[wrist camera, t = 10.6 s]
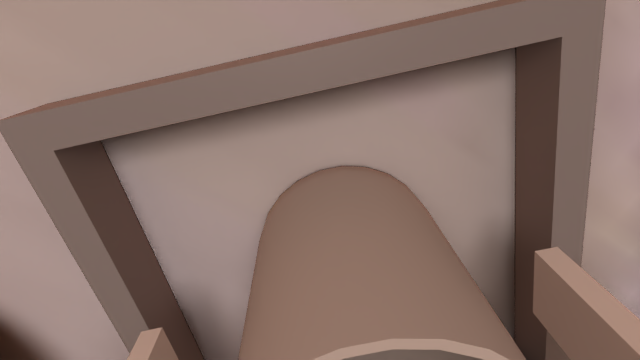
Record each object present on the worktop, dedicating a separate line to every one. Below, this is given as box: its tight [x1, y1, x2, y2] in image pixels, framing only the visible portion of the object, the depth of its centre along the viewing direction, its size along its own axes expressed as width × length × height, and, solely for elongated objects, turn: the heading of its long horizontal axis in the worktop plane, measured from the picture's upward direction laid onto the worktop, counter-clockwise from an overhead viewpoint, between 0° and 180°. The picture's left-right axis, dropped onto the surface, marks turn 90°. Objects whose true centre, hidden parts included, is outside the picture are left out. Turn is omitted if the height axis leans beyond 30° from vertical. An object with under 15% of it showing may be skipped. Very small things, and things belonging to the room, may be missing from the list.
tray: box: [0, 0, 606, 360], centre depth 15 cm, size 18×18×2 cm
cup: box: [238, 166, 526, 360], centre depth 13 cm, size 7×10×9 cm
